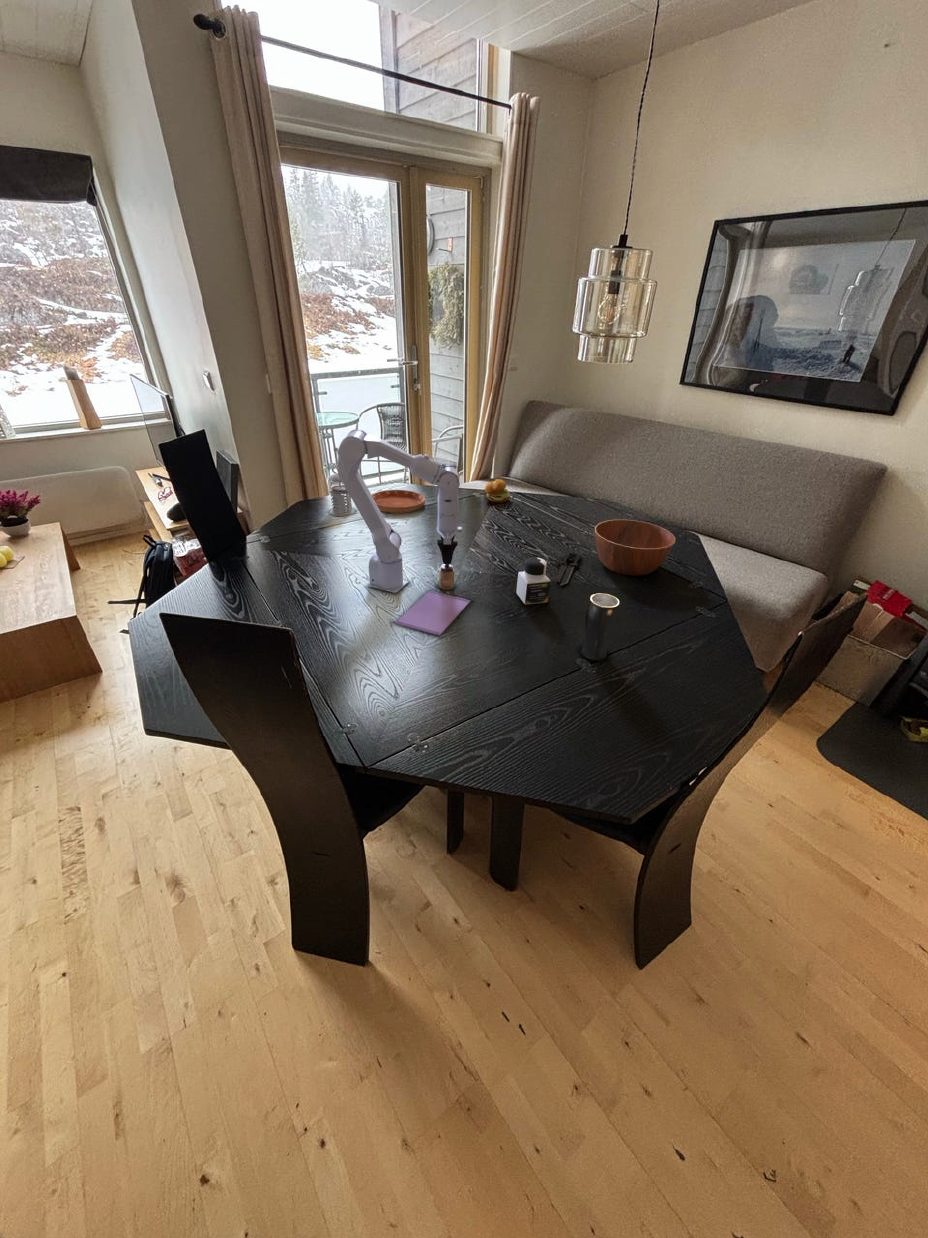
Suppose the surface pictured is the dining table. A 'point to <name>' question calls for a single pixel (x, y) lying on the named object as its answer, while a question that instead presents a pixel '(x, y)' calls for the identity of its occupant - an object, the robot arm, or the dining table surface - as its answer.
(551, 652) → the dining table surface
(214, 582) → the dining table surface
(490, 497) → the cheeseburger
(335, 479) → the french press
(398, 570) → the robot arm
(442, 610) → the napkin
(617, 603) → the beer glass
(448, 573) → the salt mill
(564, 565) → the knife
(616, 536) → the bowl
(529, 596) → the medicine bottle
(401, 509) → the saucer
